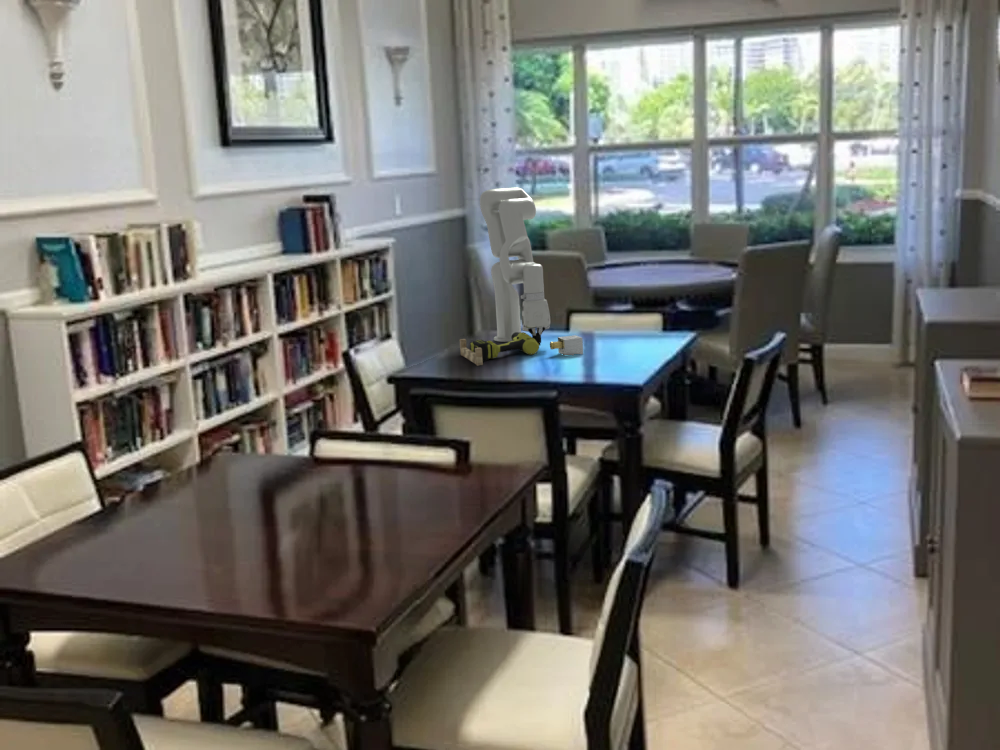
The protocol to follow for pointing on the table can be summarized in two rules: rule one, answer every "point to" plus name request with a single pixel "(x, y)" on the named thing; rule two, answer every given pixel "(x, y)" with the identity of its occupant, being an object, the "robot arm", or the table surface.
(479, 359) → the rail
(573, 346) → the socket block
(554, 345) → the brass capped square peg
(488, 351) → the cordless drill
